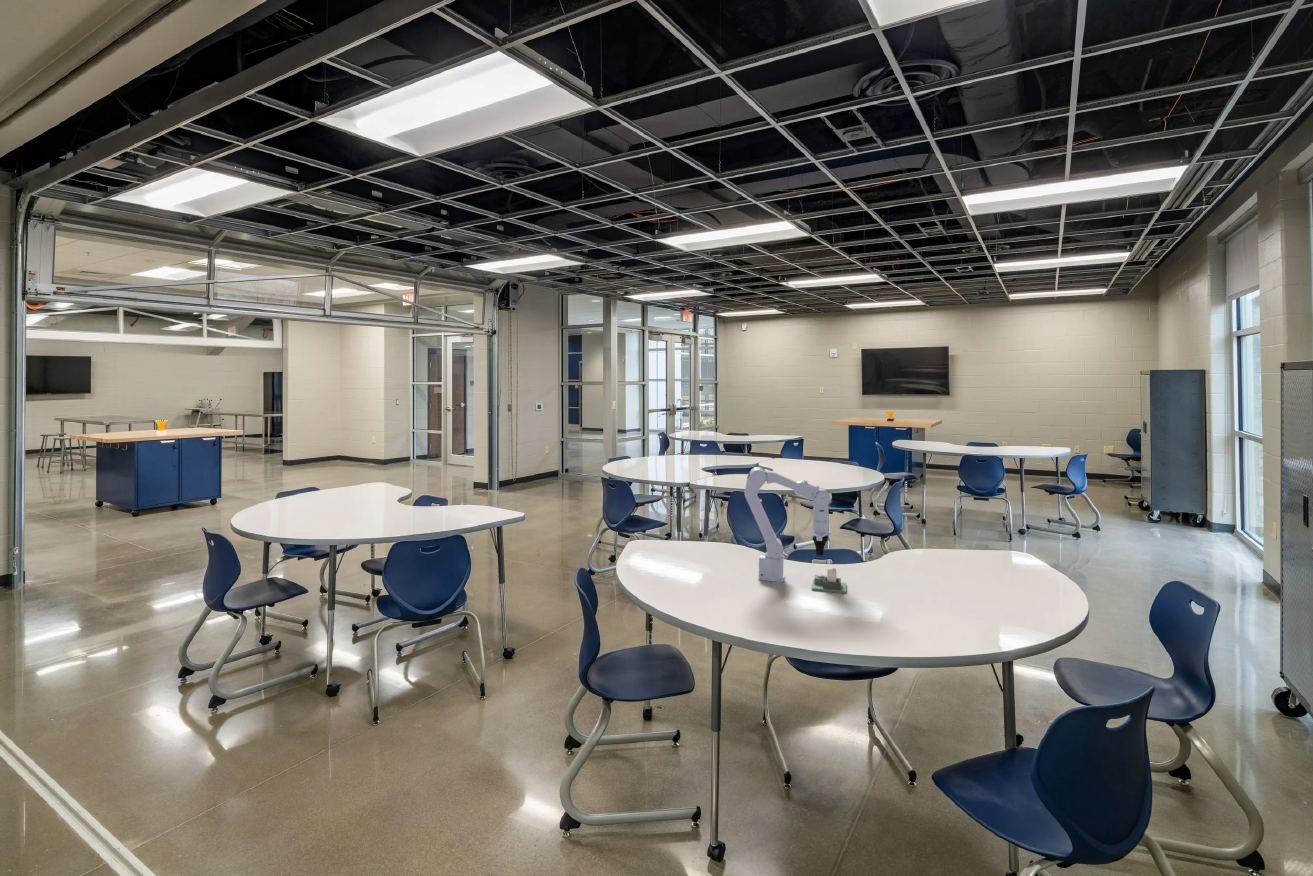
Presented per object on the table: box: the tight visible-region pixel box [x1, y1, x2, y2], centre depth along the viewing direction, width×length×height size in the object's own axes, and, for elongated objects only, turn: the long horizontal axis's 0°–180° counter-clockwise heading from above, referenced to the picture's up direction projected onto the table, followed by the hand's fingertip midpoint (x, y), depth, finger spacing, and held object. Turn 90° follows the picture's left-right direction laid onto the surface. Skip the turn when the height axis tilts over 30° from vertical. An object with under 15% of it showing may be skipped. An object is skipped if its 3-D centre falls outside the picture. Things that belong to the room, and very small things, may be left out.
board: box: [811, 574, 847, 595], centre depth 229 cm, size 12×10×4 cm
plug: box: [826, 567, 838, 582], centre depth 228 cm, size 3×3×7 cm
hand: (819, 555), depth 237 cm, fingers closed
